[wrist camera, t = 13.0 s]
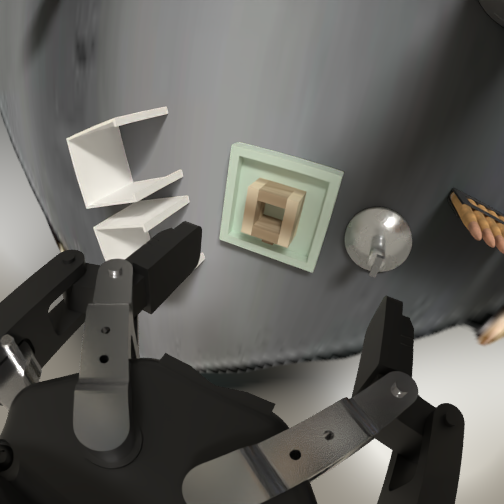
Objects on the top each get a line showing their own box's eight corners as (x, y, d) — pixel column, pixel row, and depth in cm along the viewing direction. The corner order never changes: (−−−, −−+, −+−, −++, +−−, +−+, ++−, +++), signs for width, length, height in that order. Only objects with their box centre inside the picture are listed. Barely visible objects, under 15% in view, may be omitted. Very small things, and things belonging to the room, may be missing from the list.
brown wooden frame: (259, 177, 41) (248, 186, 38) (306, 191, 40) (298, 202, 37) (250, 229, 46) (239, 242, 43) (293, 244, 44) (284, 258, 41)
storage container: (117, 123, 47) (66, 138, 38) (167, 106, 42) (114, 117, 33) (155, 256, 57) (117, 289, 49) (205, 258, 53) (168, 296, 44)
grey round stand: (356, 196, 38) (351, 218, 33) (421, 221, 36) (427, 247, 30) (337, 255, 43) (327, 285, 37) (396, 277, 41) (395, 309, 35)
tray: (238, 141, 41) (231, 144, 39) (344, 171, 37) (342, 176, 36) (225, 233, 49) (219, 239, 47) (315, 265, 45) (312, 272, 44)
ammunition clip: (447, 200, 34) (467, 244, 24) (452, 187, 33) (476, 227, 23) (509, 233, 31) (541, 283, 22) (515, 221, 30) (550, 269, 21)
